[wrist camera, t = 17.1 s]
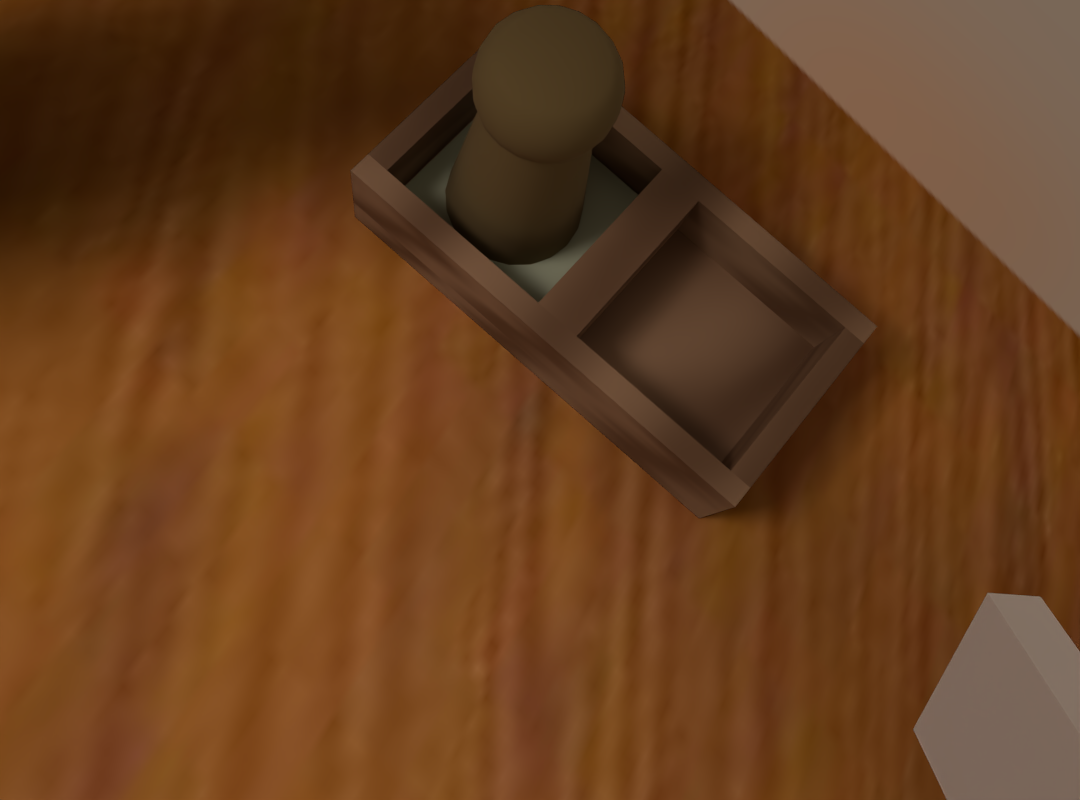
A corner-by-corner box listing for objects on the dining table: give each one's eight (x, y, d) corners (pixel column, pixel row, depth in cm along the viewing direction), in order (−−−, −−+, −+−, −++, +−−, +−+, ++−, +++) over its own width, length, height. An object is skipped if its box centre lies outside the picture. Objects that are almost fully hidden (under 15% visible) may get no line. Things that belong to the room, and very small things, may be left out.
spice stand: (355, 216, 42) (350, 170, 37) (503, 73, 44) (515, 14, 40) (698, 518, 41) (735, 506, 37) (829, 354, 44) (877, 326, 39)
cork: (537, 114, 42) (585, -54, 32) (608, 226, 41) (682, 94, 31) (418, 172, 41) (428, 16, 30) (490, 289, 40) (525, 172, 29)
